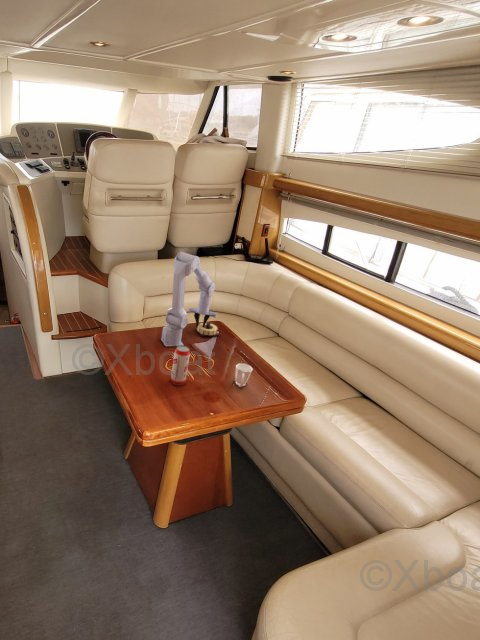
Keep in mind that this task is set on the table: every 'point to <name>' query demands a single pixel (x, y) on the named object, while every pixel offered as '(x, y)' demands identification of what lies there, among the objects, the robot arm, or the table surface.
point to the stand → (207, 328)
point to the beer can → (180, 365)
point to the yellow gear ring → (207, 331)
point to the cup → (242, 374)
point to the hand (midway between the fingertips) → (200, 327)
